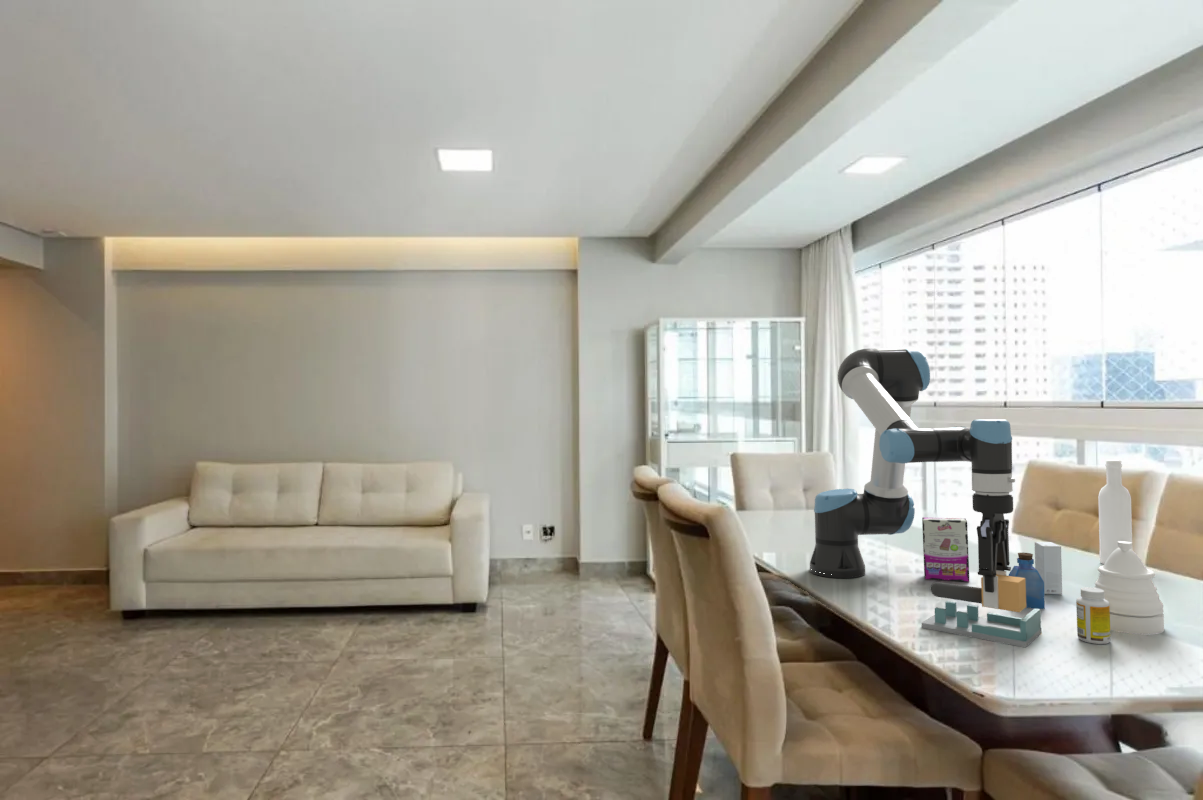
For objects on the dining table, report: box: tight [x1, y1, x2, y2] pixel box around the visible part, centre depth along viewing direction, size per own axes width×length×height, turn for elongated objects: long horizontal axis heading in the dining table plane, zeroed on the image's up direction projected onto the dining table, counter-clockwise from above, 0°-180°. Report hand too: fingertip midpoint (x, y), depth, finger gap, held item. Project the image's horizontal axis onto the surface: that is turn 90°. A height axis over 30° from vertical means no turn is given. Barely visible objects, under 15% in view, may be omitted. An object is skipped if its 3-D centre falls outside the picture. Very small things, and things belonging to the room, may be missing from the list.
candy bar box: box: [921, 516, 970, 583], centre depth 200 cm, size 11×5×16 cm, turn 68°
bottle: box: [1097, 459, 1134, 565], centre depth 212 cm, size 8×8×30 cm
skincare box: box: [1034, 541, 1063, 595], centre depth 184 cm, size 6×4×12 cm
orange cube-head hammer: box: [929, 574, 1027, 613], centre depth 156 cm, size 18×5×6 cm, turn 46°
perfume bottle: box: [1008, 552, 1046, 610], centre depth 173 cm, size 6×6×12 cm
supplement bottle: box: [1075, 586, 1112, 645], centre depth 147 cm, size 6×6×10 cm
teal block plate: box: [921, 600, 1042, 648], centre depth 155 cm, size 20×12×5 cm, turn 46°
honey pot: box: [1093, 541, 1165, 635], centre depth 157 cm, size 13×13×18 cm
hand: (995, 604), depth 153 cm, fingers closed on orange cube-head hammer, 5 cm apart
